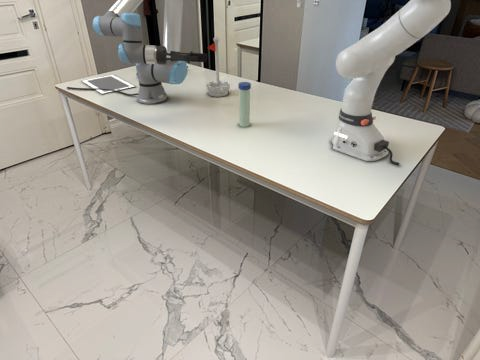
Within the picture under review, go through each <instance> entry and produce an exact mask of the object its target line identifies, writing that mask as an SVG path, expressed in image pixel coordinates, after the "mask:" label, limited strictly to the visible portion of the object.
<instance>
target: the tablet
mask: <svg viewBox="0 0 480 360" xmlns="http://www.w3.org/2000/svg"><path fill="white" fill-rule="evenodd" d="M81 82H82V83H84V84H85V85H87V86H88V87H89V88H98V89H111V90H116V91H125V90H127V89H132V88H135V87H136V86H135V85H133V84H132V83H130V82H128V81H126V80H124V79H122V78H121V77H119V76H116V75H114V74H110V75H105V76H99V77H95V78H89V79H84V80H81ZM95 92H98V93H99V94H100V95H105V94H110V93H115V92H114V91H110V90H95Z"/></svg>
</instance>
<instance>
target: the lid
mask: <svg viewBox="0 0 480 360" xmlns="http://www.w3.org/2000/svg"><path fill="white" fill-rule="evenodd" d="M237 85H238V87H237V88H238V90H239V89H241V90H248V89H250V90H251V89H252V83H251V82H248V81H241V82H238V84H237Z"/></svg>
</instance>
